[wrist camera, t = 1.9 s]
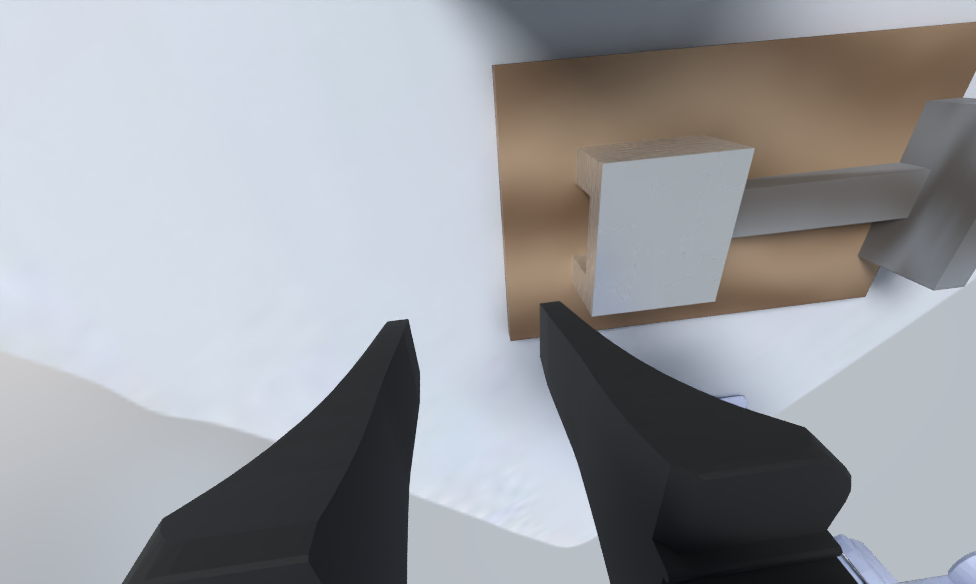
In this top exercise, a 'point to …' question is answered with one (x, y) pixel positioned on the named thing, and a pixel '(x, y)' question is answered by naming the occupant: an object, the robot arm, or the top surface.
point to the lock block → (657, 221)
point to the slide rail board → (756, 163)
